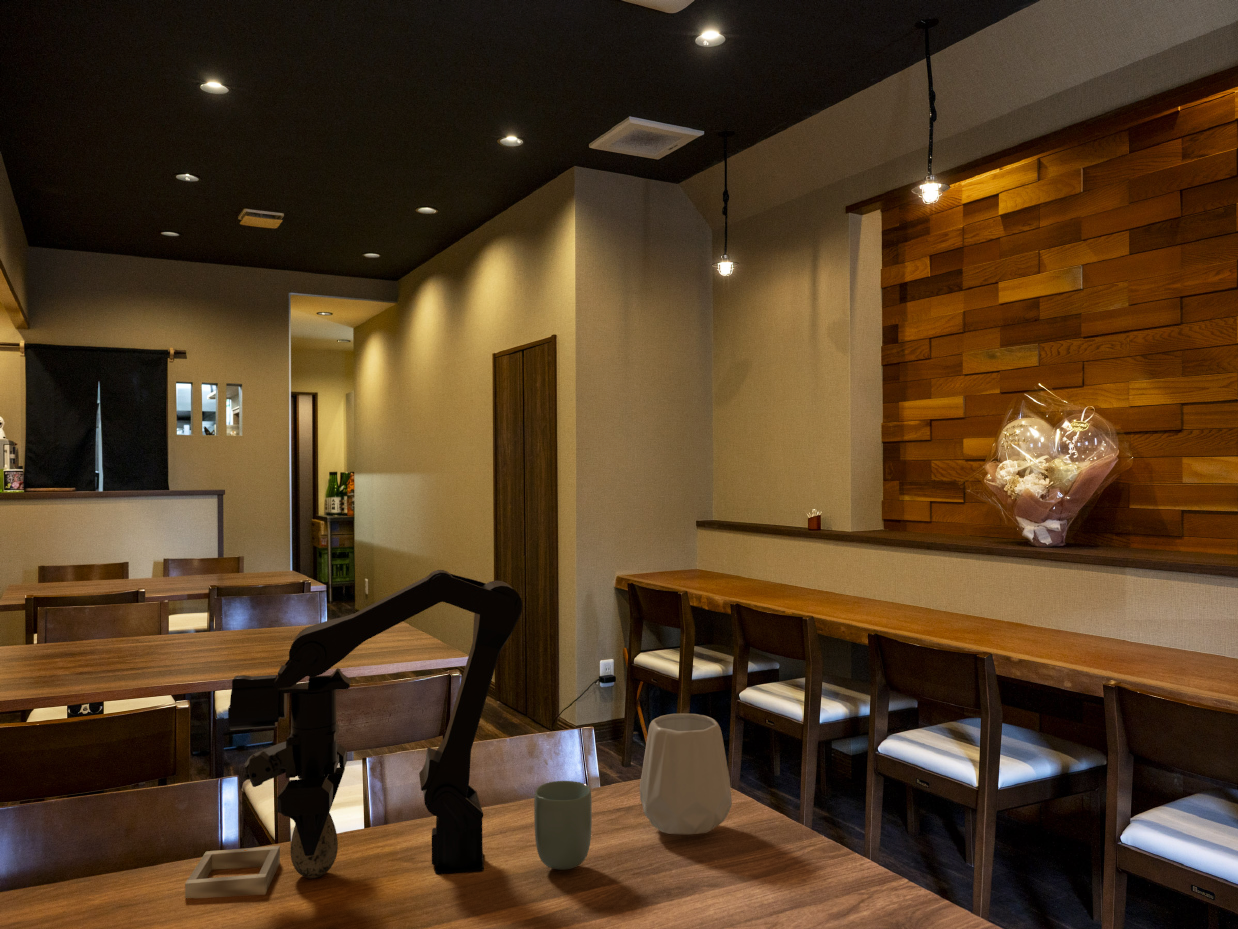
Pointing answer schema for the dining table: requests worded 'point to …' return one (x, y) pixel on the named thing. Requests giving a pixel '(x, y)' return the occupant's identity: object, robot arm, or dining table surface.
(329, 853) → the decorative egg
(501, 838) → the dining table surface
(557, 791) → the cup
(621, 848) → the dining table surface
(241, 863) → the egg stand
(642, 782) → the vase
